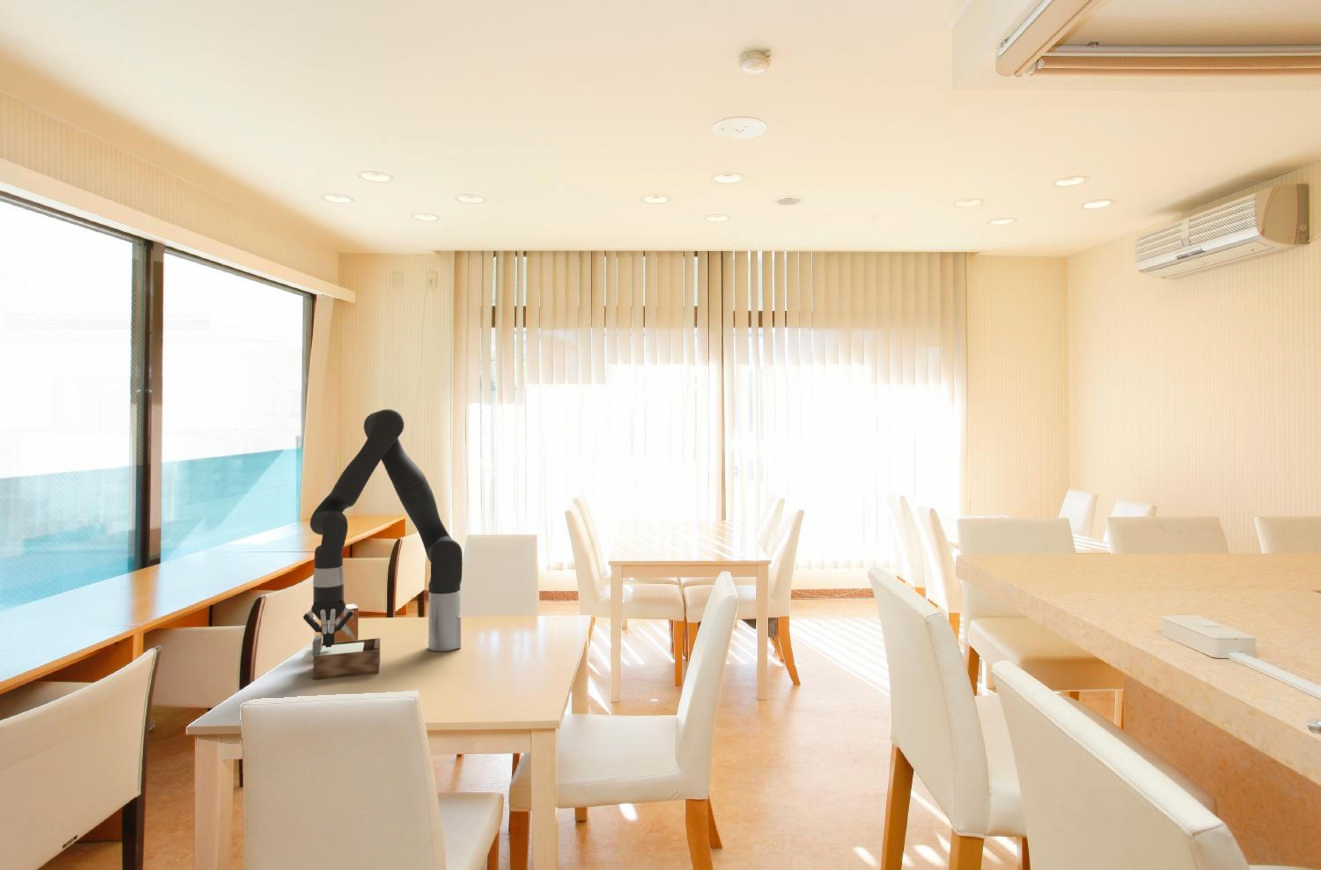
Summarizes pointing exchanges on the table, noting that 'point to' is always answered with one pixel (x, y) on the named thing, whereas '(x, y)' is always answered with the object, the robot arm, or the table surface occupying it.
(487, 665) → the table surface
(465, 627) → the table surface
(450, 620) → the robot arm
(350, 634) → the small box
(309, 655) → the cover plate
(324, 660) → the walnut box
